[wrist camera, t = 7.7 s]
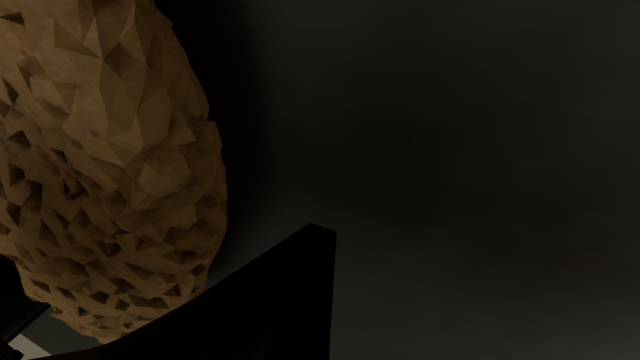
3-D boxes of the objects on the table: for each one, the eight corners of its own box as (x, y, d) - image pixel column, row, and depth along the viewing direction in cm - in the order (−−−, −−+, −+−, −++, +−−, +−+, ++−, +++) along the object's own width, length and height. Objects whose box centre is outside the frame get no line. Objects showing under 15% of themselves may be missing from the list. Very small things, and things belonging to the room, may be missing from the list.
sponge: (243, 276, 22) (377, -72, 6) (132, 390, 17) (-661, 257, 1) (104, 145, 24) (-91, -397, 8) (-30, 218, 19) (-1203, -734, 3)
